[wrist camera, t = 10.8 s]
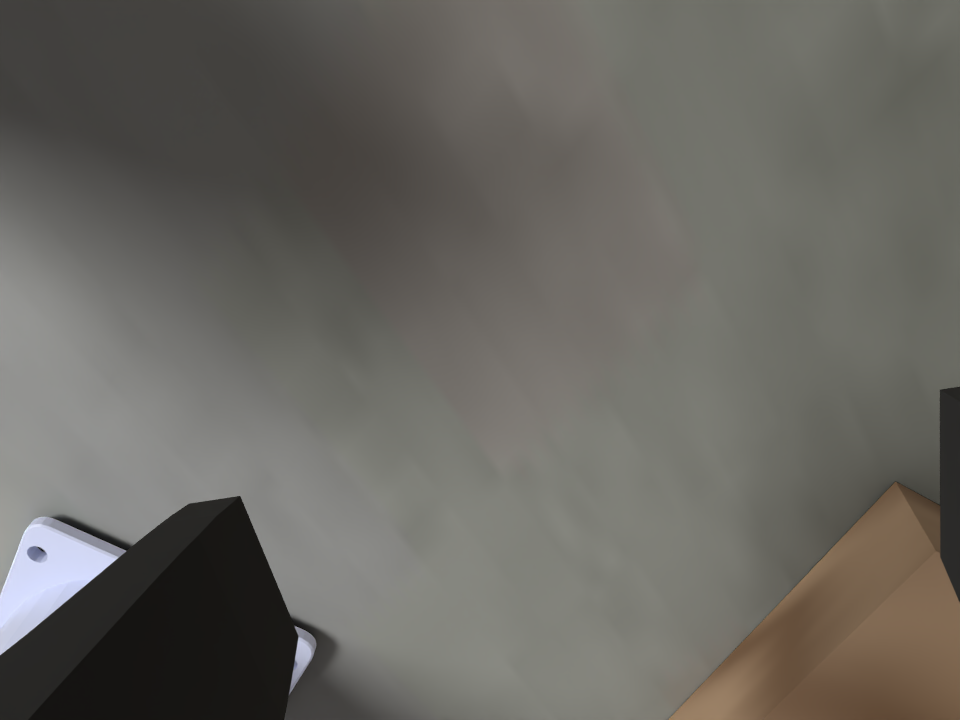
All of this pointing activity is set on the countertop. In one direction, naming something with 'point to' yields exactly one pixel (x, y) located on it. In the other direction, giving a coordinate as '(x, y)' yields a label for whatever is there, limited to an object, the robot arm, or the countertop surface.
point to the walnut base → (853, 632)
